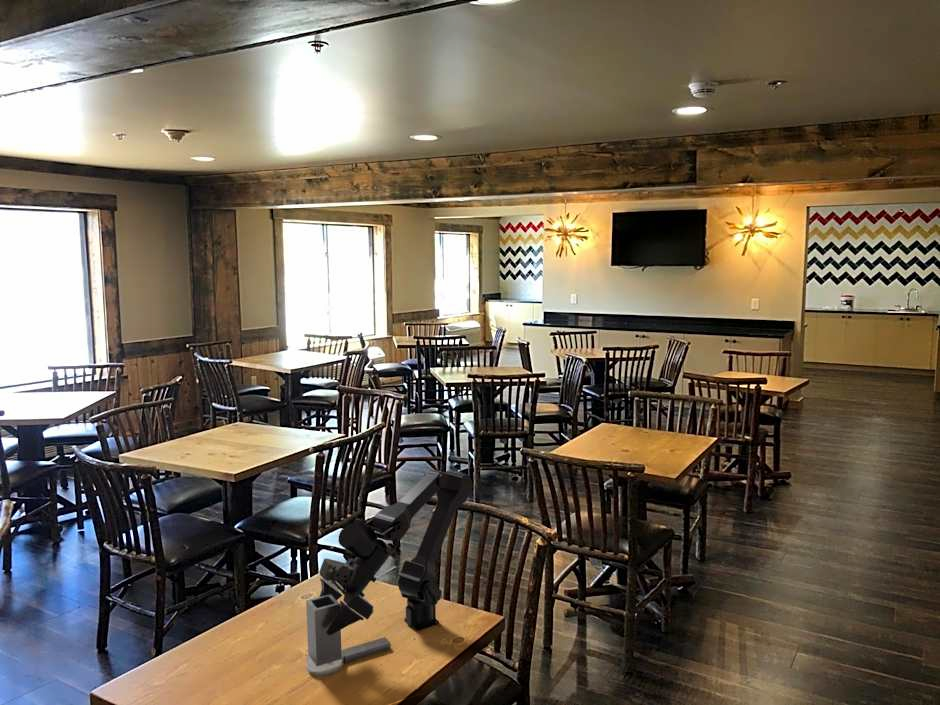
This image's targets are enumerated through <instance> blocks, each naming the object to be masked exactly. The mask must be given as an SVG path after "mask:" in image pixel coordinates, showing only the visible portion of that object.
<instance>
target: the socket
mask: <svg viewBox="0 0 940 705" xmlns="http://www.w3.org/2000/svg"><path fill="white" fill-rule="evenodd" d="M305 601H306V602H305V604H306V627H307V628H306V630H307V633H306V634H307V652H308V654H307V655H309V656H310V658H311V659H312V660H313V662H314V663H315V665H316V666H320V665H323V664H327V663H330V662H333V661H336V660H340V659H342V652H341V650H342V629H341V630H339V631H337V632H336V633H334V634H332V635H328V634H327V633H326V632H327V630H328V628H329V626H330V625H331V623H332V622H333V620H334V619H335V617H336V615H337V614H338V612H339V611H340V602H339V601H338V600H336V599H335V598H334V597H333V596H332V595H331V594H329V595H325V596H321V597H319V596H317V597H314V598H311V599H310V598H309V599H306V600H305Z"/></svg>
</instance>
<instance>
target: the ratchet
mask: <svg viewBox="0 0 940 705" xmlns="http://www.w3.org/2000/svg"><path fill="white" fill-rule="evenodd" d="M391 647H392V643H391V641H390V640H389V639H388V638H387V637H385V636H384V637H380V638H377V639H374V640H370V641H367V642H364V643H361V644H357V645H354V646H350V647H347V648H343V649H341V652H342V659H340V660H336V661H333V662H330V663H327V664H323V665H320V666H316V665H315V663H314V662H313V660H312V659H311V658H310V656H309V655H308V654H307V656H306V658H305V662H306V663H305V665H306V666H305V667H306V671H307V672H308V673H309V674H310V675H313V676H320V677H321V676H322V677H323V676H329V675H332V674H337V672H339V671H341V669H342V668H343V667H344V664H347V663H350V662H353V661H356V660H359V659H363V658H366V657H369V656H372V655H375V654H379V653H382V652H385V651H389V650H391V649H392V648H391Z"/></svg>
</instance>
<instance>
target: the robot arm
mask: <svg viewBox="0 0 940 705" xmlns="http://www.w3.org/2000/svg"><path fill="white" fill-rule="evenodd" d="M473 486H474V485H473V482H472V479H471V477H470V475H468V474H466V473H461V472H456V471H451V470H446V471H443V470H442V471H441V470H437V469H428V470H426V471H425V472H424V475H423V477H422V478H421V479H420V480H419V481H417V483H416V484H415V485H414V486H412V488H410V490H409V491H407V492H406V494H405V495H403V497H402V498H401V499H399V500H398V501H397V502H396V503H394V504H391V505H388V506H385V507H383V509H381V510H379V511H378V512H377V513H375V515H374V516H373V517H372V518H371V519H369V520H368V521H366V522H365V521H364V520H363V519H360V518H355V519H354V520H353V522H351V523H348V524H346V526H344V527H343V528H342V529H341V530H340V532H339V534H338V543H339V545H340V546H341V547H342V548H344V549H345V550H346V551H348V552H350V553H351V555H353V556H355V558H354V559H353V558H352V557H350V558H349V559H348V560H347V561H345V562H343V561H340V560H335V559H330V558H324V559H323V561H322V564H321V566H320V569H319V571H318V572H319V576H320V577H319V578H320V579H319V580H320V585H321V591H320V594H319V596H318V597H321V596H325V595H329V594H331V595H332V596H333V597H334V598H335V599H336V600H337V601H338V600H339V599H340V598H342V597H343V601H342V600H339V604H340V611H339V612H338V614H337V615H336V617H335V619H334V620H333V622H332V623H331V625H330V626H329V628H328V630H327V632H326V633H327V634H328V635H332V634H334V633H336V632H337V631H339V630H341V631H342V630H343V629H344V628H346V627H349V626H350V625H352V624H355V623H356V622H358V621H364V620H365V619H366V620H367V621H368V620H369V619H370V617H371V616H372V615H373V613H374V606H373V605H372V603H370V602H369V600H367V599H366V598H365V597H364V596H366V595H365V593H364V591H365V590H366V588H367V586H368V585H369V584H370V583H371V582H372V583H375V582H376V581H377V580H378V578H377V577H375V576H376V574H378V572H379V571H380V569H381V568H382V567H383V565H384V564H385V563H386V561H387V560H388V559H389V558H390V557H391V558H392V559H394V560H395V559H397V551H396V550H397V547H396V546H395V545H394V544H393V543H392V542H396V543H397V542H399V541H401V540H402V539H403V537H404V536H405V534H407V532H408V531H409V530H410V528H411V524H412V519H413V518H414V516H415V515H416V514H417V513H418V512H419V511H420V510H421V509H422V508H423V507H424V506H426V504H427V503H428V502H429V501H430V500H431V499H432V498H433V497H434V496H435V494H436V499H437V500H436V501H437V503H436V505H435V508H434V510H433V513H432V516H431V518H430V521H429V522H428V526H427V527H426V530H425V532H424V535H423V537H422V540H421V543H420V545H419V548H418V551H417V553H416V555H415V556H414V557H413V558H412V559H410V560H408V559H407V560H406V559H405V561H403V564H402V567H401V571H400V572H399V573H398V576H397V577H398V579H397V585H398V590H399V592H400V595H401V598H403V599H404V598H405V599H406V606H405V618H404V619H403V620H404V622H405V623H406V624H408V626H410V627H411V628H412V629H413V630H415V631H417V632H420V631H422V630H426V629H428V628H430V627H434V626H437V625H439V624H440V621H439V620H438V619H437V618H436V616H437V615H436V614H437V613H436V611H437V610H436V608H437V607H436V605H437V604H438V602H439V601H440V600H441V597H442V592H443V591H442V589H440V588H439V587H438V586H437V585H436V584H435V583H436V579H437V574H436V566H435V565H436V561H437V558H439V554H440V551H441V549H442V546H443V543H444V541H445V538H446V537H447V533H448V531H449V528H450V526H451V523H452V520H453V518H454V515H455V513H456V511H457V509H458V508H460V506H462V505H464V503H465V502H467V500H468V498H469V496H470V493H471V491H472V490H473ZM384 540H385V541H384ZM386 541H388V543H387V542H386ZM389 541H391V542H389Z"/></svg>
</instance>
